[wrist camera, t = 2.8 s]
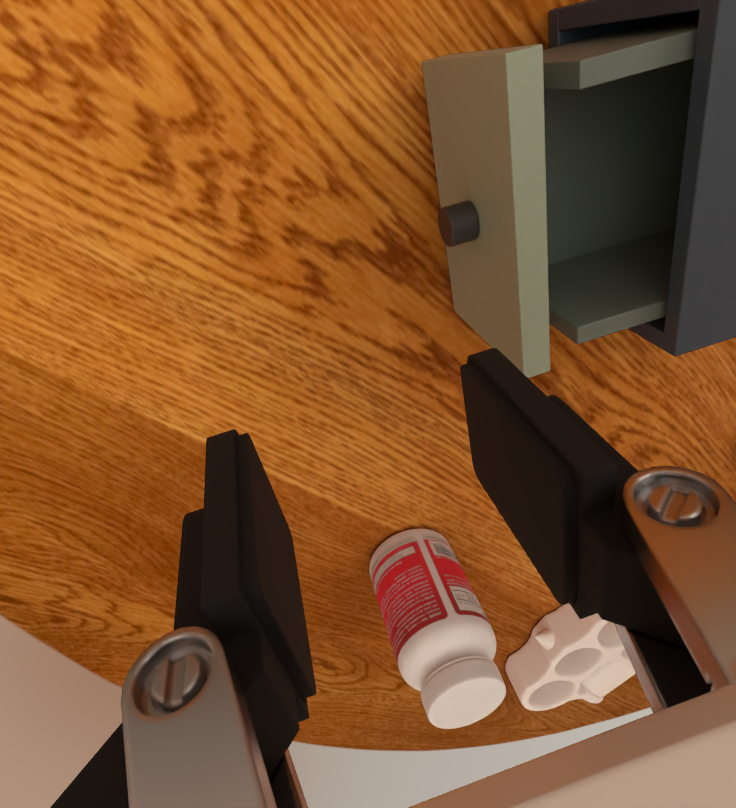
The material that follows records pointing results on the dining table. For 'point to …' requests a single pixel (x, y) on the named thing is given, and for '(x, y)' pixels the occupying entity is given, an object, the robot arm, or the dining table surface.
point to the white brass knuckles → (568, 661)
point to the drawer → (561, 182)
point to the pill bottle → (437, 628)
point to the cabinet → (688, 167)
